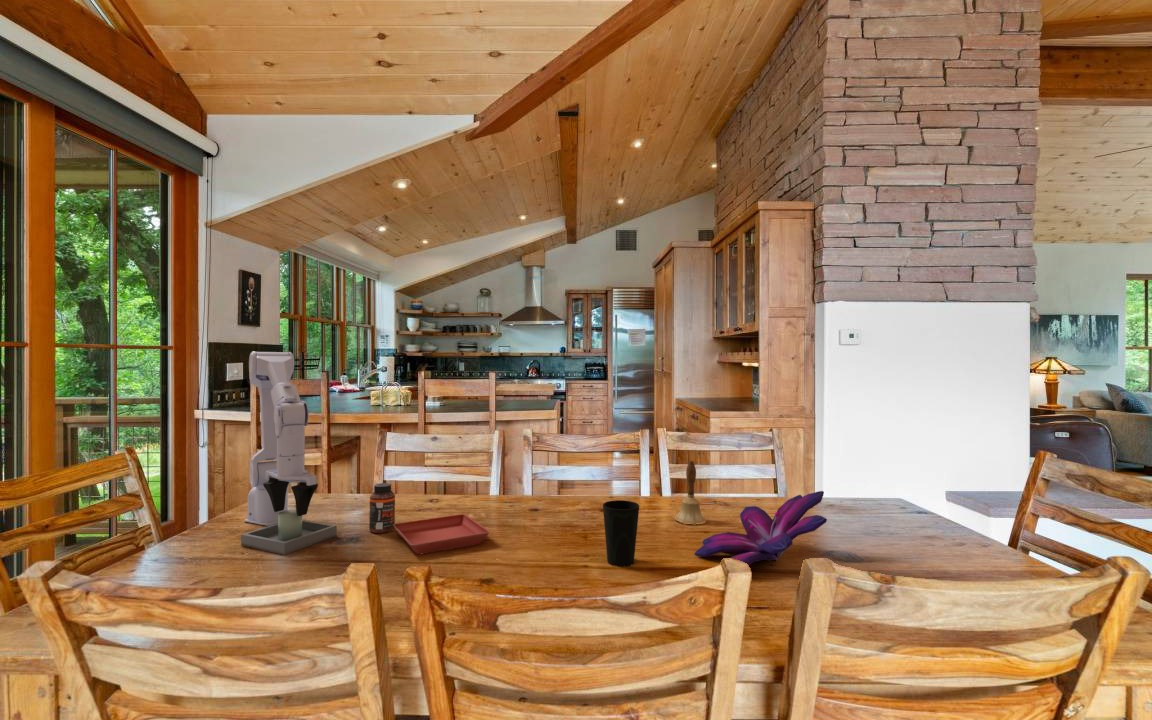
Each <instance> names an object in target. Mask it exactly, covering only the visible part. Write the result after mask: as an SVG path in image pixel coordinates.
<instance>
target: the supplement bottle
mask: <svg viewBox="0 0 1152 720" xmlns="http://www.w3.org/2000/svg"><path fill="white" fill-rule="evenodd" d="M373 487H374V488H373V492H372V493H371V494H370V495H369V496H370V497H369V516H368V517H369V518H368V519H369V520H368V521H369V524H368V527H369V531H370V532H371V533H374V534H385V533H389V532H392V531H393V530H395V528H394V526H393V525H394V524H396V522H395V521H396V516H395V514H396V510H395V509H396V494H395V492H393V491H392V483H388V482H379V483H376V484H374V485H373Z"/></svg>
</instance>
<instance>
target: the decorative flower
mask: <svg viewBox="0 0 1152 720" xmlns="http://www.w3.org/2000/svg"><path fill="white" fill-rule="evenodd" d="M824 494H825V493H824V491H823V490H819V491H815V492H811V493H808V494H806V495H801V494H797V495H795V496H794V497H792V498H789V499H788V500H786V501H785V502H784V503H783V504H782V505H781V506H780V507H778V509H777V511H775V513H774V516H773V518H771V516H770V515H769V514H768V512H767V511H765V510H764V509H762V508H760V507H758V506H755V505H752V506H751V505H750V506H745V507H744V508H743V510H741V512H740V513H739V516H740V521H741V524H742V526H743V528H744V530H745V533H746V534H744V533H738V532H732V531H731V532H730V531H727V532H722V533H717V534H716V533H715V534H713V535H711V536H709V537H707V538H704V539H703V540H702V544H703V545H702V546H701V547H699V548H698V549H697V550H696V551H695V552H694V556H696V557H703V558H705V557H706V558H708V557H710V556H713V555H716V554H719V553H725V552H726V553H727V552H729V553H730V552H732V553H733V552H735V553H738V554H736V555H732V556H730V557H729V558H734V559H737V560H740V561H743V562H745V563H747V564H748V565H749V566H750V565H752V564H753V563H756V562H759V561H761V560H776V561H775V562H777V561H778V558H779V559H780V558H781V557H782V555H783V554H784V553H785V551H787V549H788V548H790V547H791V546H792V545H793V540H794V539H795V538H797V537H798V536H801V535H805V534H808V533H811V532H814V531H817V530H818V529H819V528H820V527H822V526H823V525H824V524H826V523H827V521H828V519H827V518H826V517H825V516H823V515H819V514H815V515H809V516H805V517H804V515H806V514H807V512H808V511H810V510H811V509H813V508H814V507H815V506H817V505H818V504H821V502H822V501H823V496H824Z"/></svg>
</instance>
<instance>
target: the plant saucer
mask: <svg viewBox="0 0 1152 720" xmlns="http://www.w3.org/2000/svg"><path fill="white" fill-rule="evenodd" d="M393 526H394V530H395V531H396V533H398V535H399V536H400V537H401V538H402V539H403V540H404V541H405V542H406V544H407V545H408V546H409V547H410V549H411V550H412V551H413V552H414V553H415V554H416V555H422V554H421V553H425V554H429V553H428V552H430V553H435V551H436V552H441V550H442V551H446V550H452V549H458V548H464V547H470V546H475V545H480V543H482V541H484V540H485V539H486V537H487V536H488V535H489V534H490V530H488V529H487V528H485V526H482V525H481V524H480V523H479V522H477V521H475V520H474V519H473V518H471V517H469V516H468V515H467V514H465V513H461V514H454V515H453V514H452V515H446V516H440V517H433V518H426V519H419V520H413V521H412V520H411V521H406V522H405V521H404V522H399V523H395V524H394V525H393Z"/></svg>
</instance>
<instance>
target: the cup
mask: <svg viewBox="0 0 1152 720" xmlns="http://www.w3.org/2000/svg"><path fill="white" fill-rule="evenodd" d="M602 511H603V524H604V525H603V526H604V535H605V547H606V559H607V564H608V565H610V564H611V566H613V567H622V568H623V567H624V566H626V567H630V566H633V564H634V563H635V554H636V545H637V544H636V543H637V535H638V533H637V532H638V524H639V514H640V513H639V511H640V504H639V503H637V502H634V501H632V500H625V499H624V500H622V499H620V500H618V499H615V500H609V501H605V502H604V503H603V504H602Z"/></svg>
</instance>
